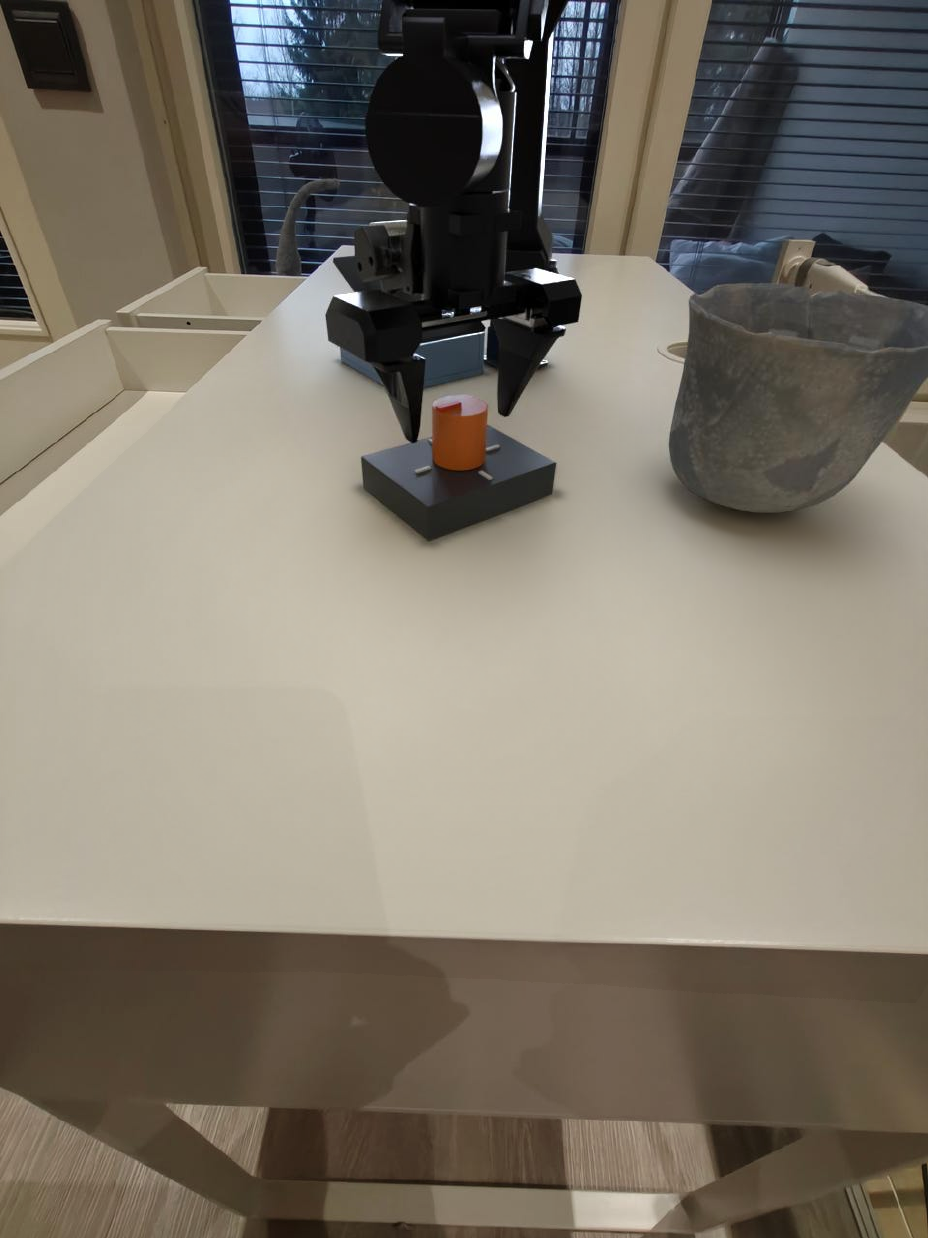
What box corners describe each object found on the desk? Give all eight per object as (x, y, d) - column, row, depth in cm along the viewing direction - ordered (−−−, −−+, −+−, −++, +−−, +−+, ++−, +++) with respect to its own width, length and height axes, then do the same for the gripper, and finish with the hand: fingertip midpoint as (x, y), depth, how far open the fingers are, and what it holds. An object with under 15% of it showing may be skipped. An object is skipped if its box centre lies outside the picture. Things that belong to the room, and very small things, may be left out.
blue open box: (341, 361, 76) (336, 320, 73) (422, 345, 82) (421, 307, 79) (397, 393, 68) (395, 349, 65) (483, 373, 74) (485, 332, 71)
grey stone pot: (761, 441, 61) (823, 275, 51) (911, 530, 48) (1032, 333, 38) (610, 464, 56) (647, 286, 46) (735, 570, 43) (823, 356, 33)
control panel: (481, 451, 57) (482, 419, 55) (552, 494, 51) (557, 460, 49) (363, 488, 51) (360, 454, 49) (428, 541, 45) (427, 505, 43)
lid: (332, 262, 68) (337, 214, 64) (423, 252, 74) (433, 208, 70) (394, 348, 65) (404, 304, 60) (484, 331, 71) (499, 290, 66)
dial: (464, 442, 51) (465, 387, 48) (495, 461, 49) (499, 404, 46) (422, 455, 49) (420, 398, 46) (453, 476, 47) (453, 416, 44)
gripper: (498, 172, 46) (487, 376, 57) (271, 180, 38) (307, 419, 48) (603, 187, 40) (569, 415, 50) (358, 201, 31) (378, 473, 41)
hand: (459, 427), depth 47 cm, fingers open, 9 cm apart
